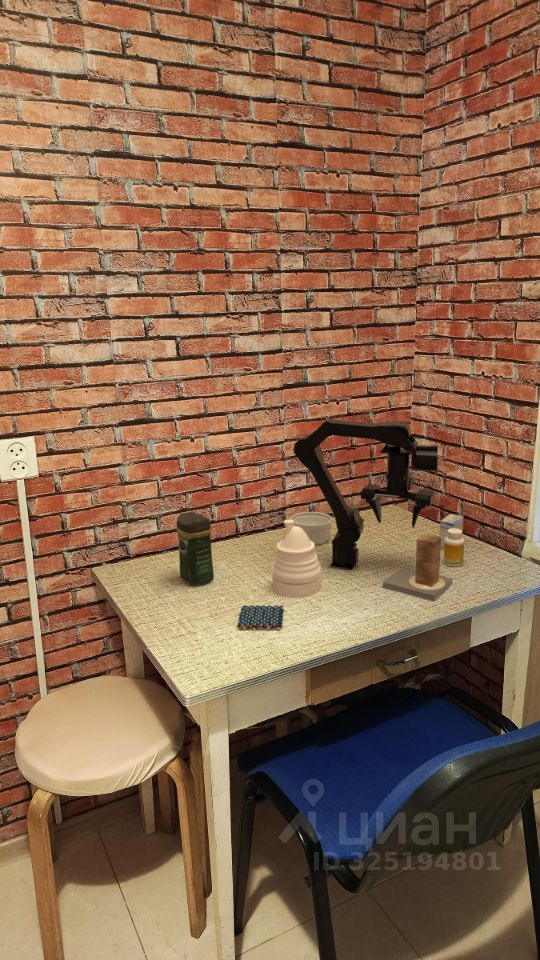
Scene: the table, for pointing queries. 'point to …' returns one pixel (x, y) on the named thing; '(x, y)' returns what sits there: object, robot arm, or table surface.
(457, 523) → the medicine box
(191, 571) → the coffee jar
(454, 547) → the supplement bottle
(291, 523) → the honey pot
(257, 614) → the woven mat
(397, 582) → the slate board
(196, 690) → the table surface
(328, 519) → the ramekin
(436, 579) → the walnut block
